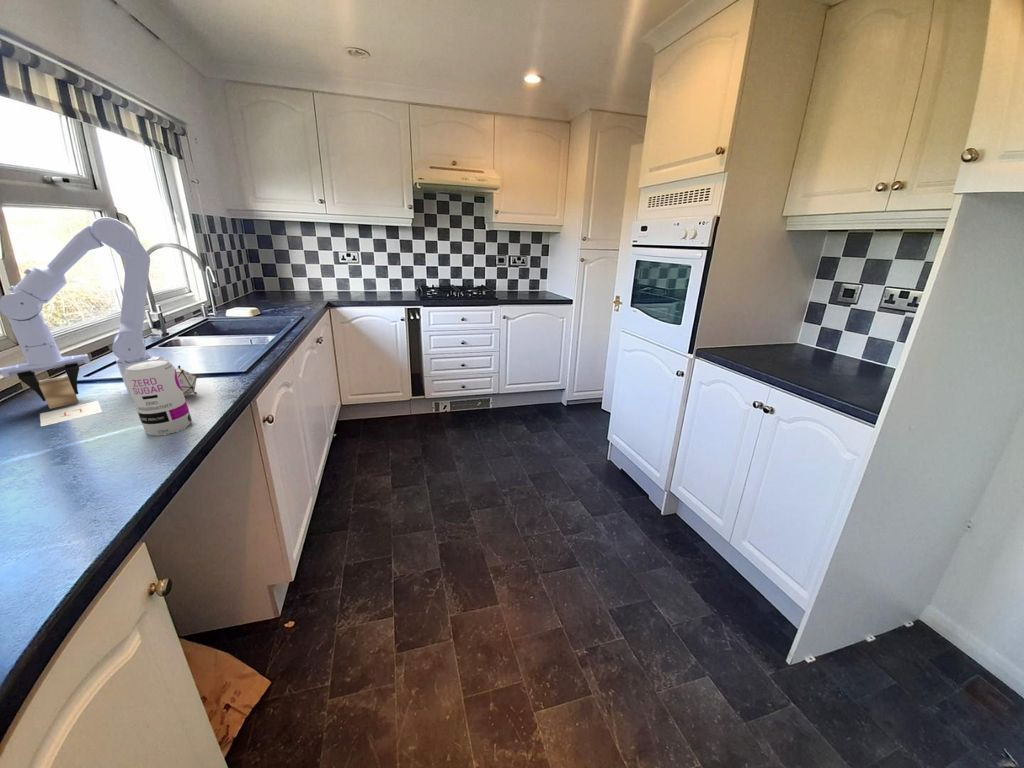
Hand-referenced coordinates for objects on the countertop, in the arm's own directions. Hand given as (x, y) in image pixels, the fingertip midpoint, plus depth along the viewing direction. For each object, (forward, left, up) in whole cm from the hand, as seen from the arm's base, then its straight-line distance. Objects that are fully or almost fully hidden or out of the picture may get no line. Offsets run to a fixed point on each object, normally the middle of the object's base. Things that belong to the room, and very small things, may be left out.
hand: (61, 396), depth 102 cm
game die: (-26, +4, -2) cm, 27 cm away
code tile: (-5, +8, -2) cm, 10 cm away
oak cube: (0, 0, -2) cm, 2 cm away
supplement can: (-30, +24, -2) cm, 39 cm away
